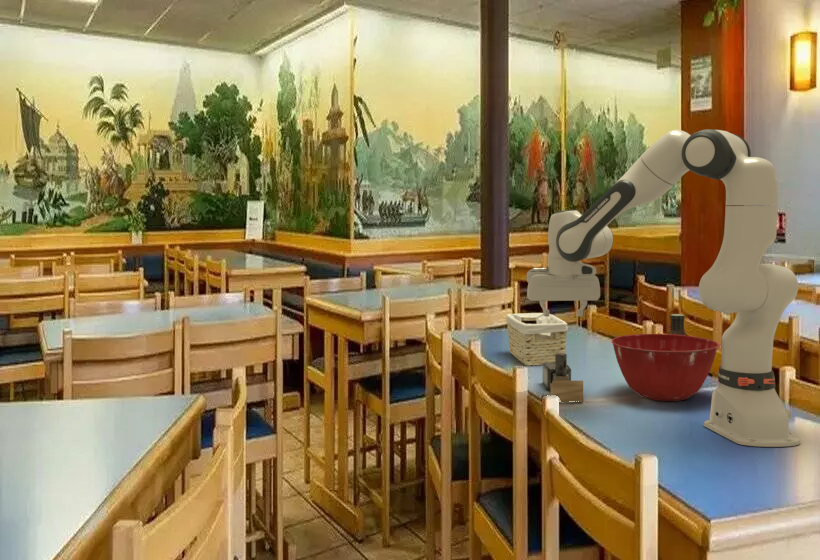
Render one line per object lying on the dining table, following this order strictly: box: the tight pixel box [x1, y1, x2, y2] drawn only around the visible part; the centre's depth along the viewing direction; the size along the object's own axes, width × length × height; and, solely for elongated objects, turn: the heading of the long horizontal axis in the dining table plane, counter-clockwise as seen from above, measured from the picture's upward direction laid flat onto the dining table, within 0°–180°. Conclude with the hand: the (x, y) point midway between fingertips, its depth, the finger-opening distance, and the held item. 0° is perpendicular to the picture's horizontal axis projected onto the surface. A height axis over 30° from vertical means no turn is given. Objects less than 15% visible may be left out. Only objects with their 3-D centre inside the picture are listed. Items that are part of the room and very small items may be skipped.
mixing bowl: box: [610, 333, 720, 402], centre depth 207 cm, size 28×28×16 cm
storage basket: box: [505, 312, 569, 367], centre depth 258 cm, size 24×16×15 cm
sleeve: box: [542, 362, 572, 391], centre depth 219 cm, size 9×7×6 cm
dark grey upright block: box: [551, 352, 569, 383], centre depth 215 cm, size 12×4×10 cm, turn 178°
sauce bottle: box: [667, 313, 687, 336], centre depth 225 cm, size 6×6×20 cm
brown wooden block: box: [550, 380, 584, 403], centre depth 202 cm, size 4×8×6 cm, turn 88°
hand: (563, 316), depth 210 cm, fingers open, 8 cm apart
